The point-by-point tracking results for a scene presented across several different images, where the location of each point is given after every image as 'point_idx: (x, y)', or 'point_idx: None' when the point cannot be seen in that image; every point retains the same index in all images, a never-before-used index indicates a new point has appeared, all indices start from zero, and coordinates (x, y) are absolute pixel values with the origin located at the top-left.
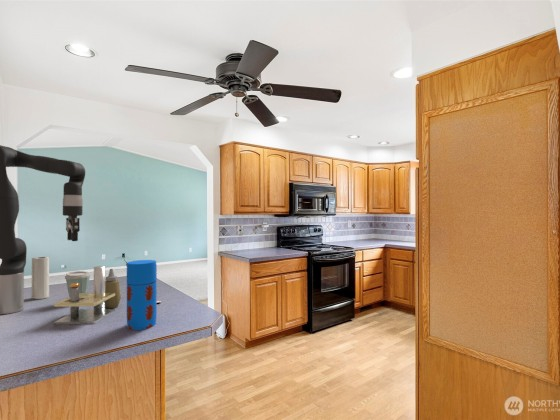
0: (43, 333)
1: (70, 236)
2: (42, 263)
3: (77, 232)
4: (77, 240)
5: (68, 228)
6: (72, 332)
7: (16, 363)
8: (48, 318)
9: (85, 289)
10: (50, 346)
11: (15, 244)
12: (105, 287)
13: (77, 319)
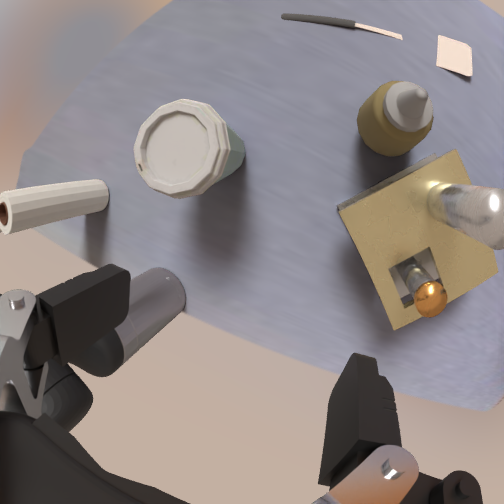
0: (420, 341)
1: (98, 312)
2: (26, 216)
3: (396, 457)
4: (373, 359)
5: (38, 409)
6: (471, 310)
7: (480, 400)
8: (321, 285)
9: (235, 135)
10: (483, 359)
11: (60, 419)
12: (408, 146)
13: (424, 265)
